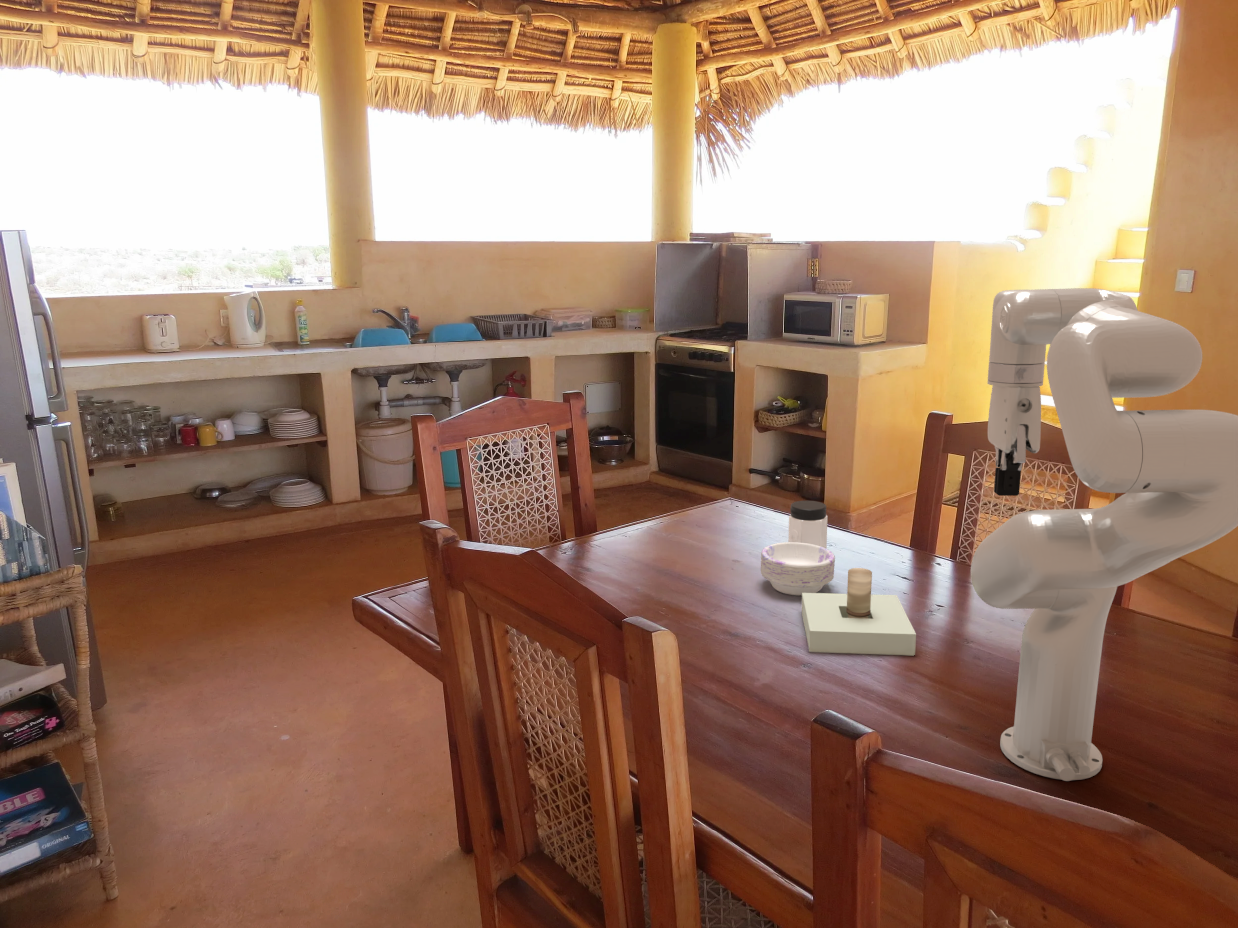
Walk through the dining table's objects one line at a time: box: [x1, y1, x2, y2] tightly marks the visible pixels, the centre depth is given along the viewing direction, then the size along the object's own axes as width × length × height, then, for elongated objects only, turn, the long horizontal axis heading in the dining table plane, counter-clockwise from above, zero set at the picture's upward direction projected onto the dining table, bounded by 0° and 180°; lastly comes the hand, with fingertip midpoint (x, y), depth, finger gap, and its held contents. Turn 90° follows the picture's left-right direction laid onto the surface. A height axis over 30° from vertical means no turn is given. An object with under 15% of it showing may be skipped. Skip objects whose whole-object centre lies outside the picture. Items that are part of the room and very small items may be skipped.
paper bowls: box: [760, 541, 836, 597], centre depth 180 cm, size 15×15×8 cm
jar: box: [787, 500, 828, 549], centre depth 200 cm, size 9×8×12 cm
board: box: [801, 592, 917, 657], centre depth 158 cm, size 18×18×4 cm
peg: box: [846, 567, 873, 618], centre depth 156 cm, size 4×4×12 cm
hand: (1006, 494), depth 130 cm, fingers closed
